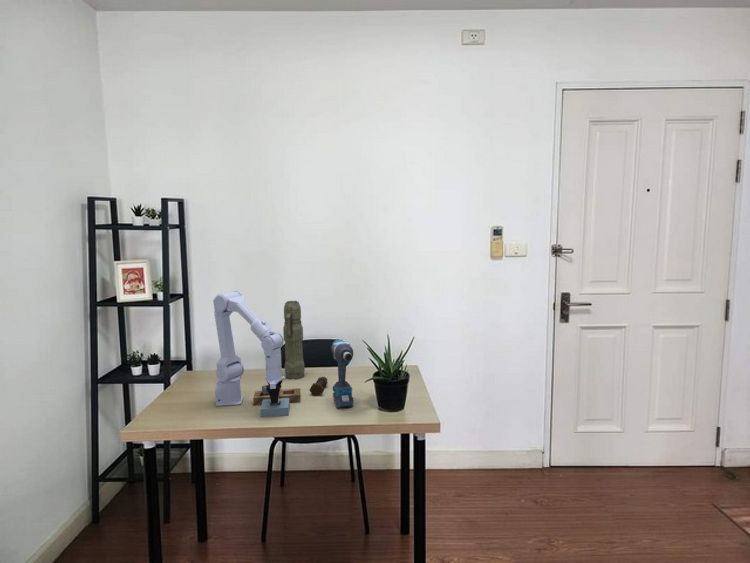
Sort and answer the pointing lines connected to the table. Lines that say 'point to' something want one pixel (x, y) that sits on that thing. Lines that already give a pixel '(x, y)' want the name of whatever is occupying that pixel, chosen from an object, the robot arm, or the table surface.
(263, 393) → the black pin
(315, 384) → the bolt
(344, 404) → the impact wrench
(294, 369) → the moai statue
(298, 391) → the rack
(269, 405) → the socket block
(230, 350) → the robot arm
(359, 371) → the table surface
